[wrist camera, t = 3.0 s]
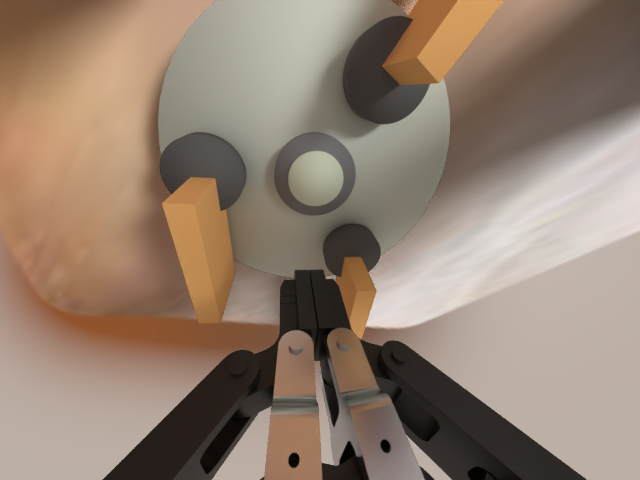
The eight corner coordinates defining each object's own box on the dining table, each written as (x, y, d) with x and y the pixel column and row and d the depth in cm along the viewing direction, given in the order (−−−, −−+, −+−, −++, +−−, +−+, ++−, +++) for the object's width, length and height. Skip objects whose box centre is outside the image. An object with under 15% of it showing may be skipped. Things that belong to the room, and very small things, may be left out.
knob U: (383, 136, 13) (421, 155, 9) (326, 88, 11) (346, 87, 8) (541, -72, 9) (711, -181, 6) (491, -188, 8) (683, -448, 4)
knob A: (160, 129, 12) (100, 148, 8) (242, 135, 12) (223, 155, 8) (197, 272, 17) (172, 325, 13) (254, 271, 17) (245, 321, 14)
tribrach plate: (477, 16, 12) (527, -3, 10) (394, 262, 22) (409, 285, 19) (129, -46, 10) (73, -94, 7) (202, 263, 19) (189, 290, 16)
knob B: (325, 223, 16) (337, 264, 12) (380, 224, 16) (408, 264, 13) (314, 314, 21) (320, 363, 17) (357, 312, 21) (372, 359, 18)
